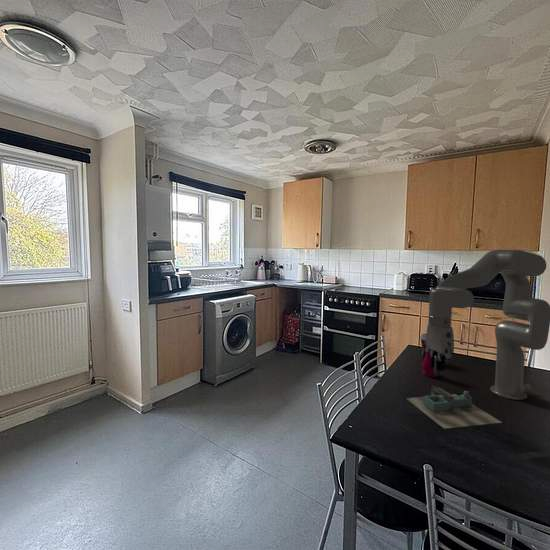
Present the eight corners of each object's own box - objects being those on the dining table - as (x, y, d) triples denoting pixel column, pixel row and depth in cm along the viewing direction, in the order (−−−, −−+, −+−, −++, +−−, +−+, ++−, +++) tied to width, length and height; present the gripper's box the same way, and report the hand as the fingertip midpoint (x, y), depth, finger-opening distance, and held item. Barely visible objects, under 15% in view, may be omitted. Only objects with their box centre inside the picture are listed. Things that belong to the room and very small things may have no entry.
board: (455, 396, 129) (456, 381, 128) (502, 425, 107) (503, 407, 107) (405, 401, 125) (406, 385, 125) (444, 431, 103) (444, 412, 103)
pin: (442, 375, 115) (443, 357, 115) (436, 375, 115) (437, 357, 114) (437, 372, 118) (438, 354, 117) (431, 372, 117) (432, 355, 117)
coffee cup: (422, 364, 167) (423, 337, 166) (417, 358, 177) (418, 332, 176) (441, 365, 166) (442, 338, 165) (434, 359, 175) (435, 333, 174)
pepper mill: (439, 378, 148) (441, 338, 147) (423, 377, 150) (425, 337, 148) (435, 372, 155) (436, 334, 154) (420, 371, 157) (421, 333, 155)
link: (464, 400, 123) (464, 388, 123) (477, 408, 117) (477, 395, 116) (423, 403, 120) (423, 391, 120) (433, 411, 114) (434, 398, 114)
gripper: (465, 326, 108) (462, 376, 109) (434, 316, 124) (432, 361, 125) (446, 326, 106) (443, 378, 108) (417, 317, 122) (415, 362, 123)
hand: (437, 368), depth 116 cm, fingers closed on pin, 2 cm apart
